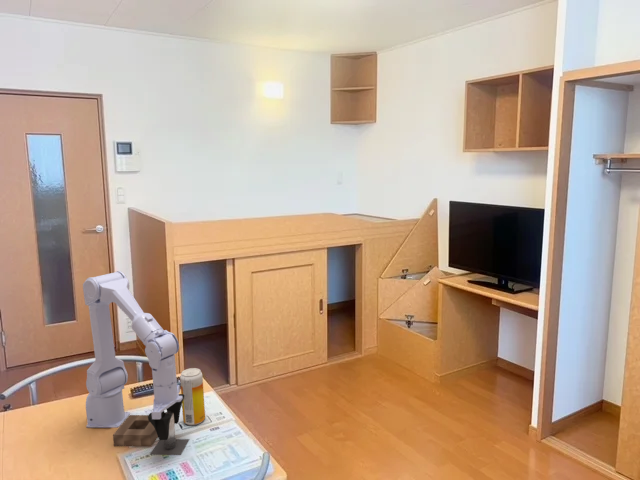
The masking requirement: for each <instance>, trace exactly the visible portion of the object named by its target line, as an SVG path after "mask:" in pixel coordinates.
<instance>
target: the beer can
mask: <svg viewBox="0 0 640 480" xmlns="http://www.w3.org/2000/svg"><path fill="white" fill-rule="evenodd" d="M179 379H180V380H179V382H180V394H184V396H185V397H184V399H183V402H182V405H181V408H182V409H181V411H182V421H183V423H184V424H186V425H187V426H197V425H200V424H201V423H203V422H204V420H205V419H206V410H205V407H206V406H205V396H204V395H205V394H204V393H205V392H204V381H203V373H202V371H201V369H200V368H196V367H191V368H190V367H189V368H187V369H184V370H182V372H181V373H180V377H179Z"/></svg>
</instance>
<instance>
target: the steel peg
mask: <svg viewBox="0 0 640 480" xmlns="http://www.w3.org/2000/svg"><path fill="white" fill-rule="evenodd" d="M164 412H165V413H166V414H173V415H172V417H171V420H170V424H169V436H168V439H167V440H164V449H165V450H172V449H174V448H175V447H176V439H177V438H176V426H175V425H176V424H174V413H173V412H167V411H164Z"/></svg>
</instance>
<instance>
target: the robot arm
mask: <svg viewBox="0 0 640 480" xmlns="http://www.w3.org/2000/svg"><path fill="white" fill-rule="evenodd" d="M82 290H83V291H82V292H83V298H84V304H85V306H88V313H89V320H90V329H91V335H92V342H93V343H92V344H93V350H94V351H93V352H94V359H95V360H94V362H93V363H92V364H91V365H90V366H89V368H87V370H86V382H85V386H86V389H87V391H88V395H87V397H86V400H85V411H86V412H85V413H86V420H87V424H86V425H85V426H86V428H95V429H96V428H100V429H103V428H106V429H107V428H109V429H110V428H111V429H112V428H116V429H118V428H119V427H120V426H121V425H122V423H123V422H124V421H125V420H126V419H127V418H128V416H129V415H131V411H125V406H124V397H123V395H124V394H123V390H124V389H125V385H126V384H127V382H128V378H129V375H128V372H127V369H126V367H125V366H126V365H125V362H124V360H122V359H120V358H118V357H116V351H115V344H114V343H115V342H114V336H113V335H114V334H113V327H112V320H111V311H110V310H111V309H110V304H111V303H114V304H116V306H117V307H118V308H119V309H120V310H121V311H122V312H123V313H124V314H125V315H126V317H128V319H130V321H131V329H132V331H133V332H134V333H135V334H136V336H137V337H138V338H139V340H140V341H141V342H142V344H143V345H144V346H145V348H144V353H145V356H146V357H147V359H148V364H149V367H150V368H151V374H152V375H151V376H152V384H153V385H152V386H153V387H152V388H153V395H154V396H153V397H154V398H153V404H152V405H153V408H152V411H151V412H150V413H149V414H148V420H149V421H150V422H151V424H152V425H153V426H154V428H155V430H156V433H157V435H158V438H157V439H159V440H167V439H168V436H169V424H170V420H171V417H172V415H173V414H166V413H165V412H173V413H174V424H175V425H177V424H179V422H180V421H179V420H180V414H181V410H182V409H181V408H182V402H183V399H184V397H185V396H184V394H181V384H178V379H177V367H176V355H177V353H178V352H179V351H180V344H179V340H178V337H176V334H174V333H173V332H172V331H171V332H170V331H168V330H167V329H165V330H164V329H163V327H162V326H161V325H160V324H159V322H158V321H157V319H156V318H155V317H154V316H153V315H152V314H151V313H149V312H144V310H143V309H142V308H141V306H140V304H139V303H138V301H137V300H136V299H135V297H134V295H133V293H132V292H131V291H130V281H129V279H128V278H127V276H126V275H125V273H124V272H122V271H121V270H116V271H115V272H111V273H106V274H102V275H97V276H93V277H87V278H86V279H85V281H84V282H83V283H82ZM175 354H176V355H175ZM159 440H158V441H159Z"/></svg>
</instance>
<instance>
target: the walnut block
mask: <svg viewBox="0 0 640 480" xmlns="http://www.w3.org/2000/svg"><path fill="white" fill-rule="evenodd" d="M148 415H149V414H148ZM148 415H147V414H144V415H143V414H130V415H129V416H128V417H127V418H126V419H125V421H124V422H123V423H122V424H121V425H120V427H118V428H116V430H115V432H114V433H113V434H112V440H113V446H114V447H137V448H138V447H140V448H141V447H142V448H143V447H144V448H145V447H147V448H149V447H150V448H151V447H152V446H153V445H154V444H155V442H156V440H157V439H159V438H158V435H157V433H156V430H155V428H154V426H153V425H152V424H151V422H150V421H149V420H148Z"/></svg>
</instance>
